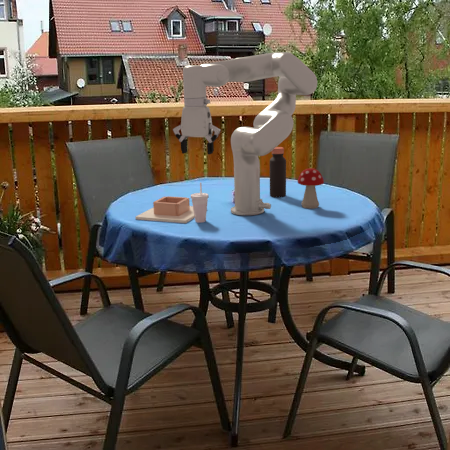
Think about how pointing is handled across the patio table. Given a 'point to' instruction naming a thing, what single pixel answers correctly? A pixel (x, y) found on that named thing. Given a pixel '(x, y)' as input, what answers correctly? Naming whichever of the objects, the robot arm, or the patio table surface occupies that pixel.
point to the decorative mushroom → (310, 187)
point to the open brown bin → (169, 210)
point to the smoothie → (200, 205)
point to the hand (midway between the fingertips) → (197, 153)
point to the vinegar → (278, 173)
